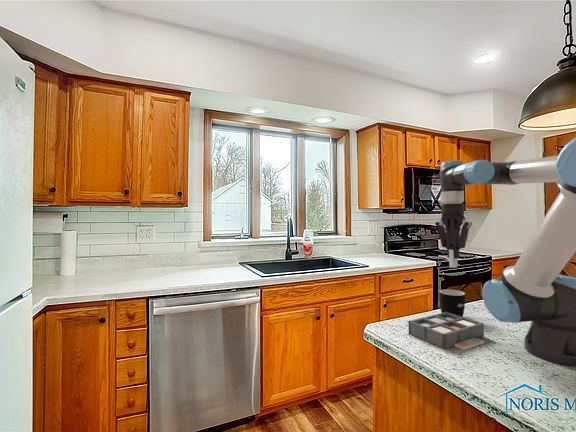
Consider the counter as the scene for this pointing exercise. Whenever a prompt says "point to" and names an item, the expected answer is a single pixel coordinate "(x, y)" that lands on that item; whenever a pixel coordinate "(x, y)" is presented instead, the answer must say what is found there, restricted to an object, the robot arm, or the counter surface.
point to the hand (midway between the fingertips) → (453, 267)
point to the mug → (452, 302)
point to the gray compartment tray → (457, 338)
